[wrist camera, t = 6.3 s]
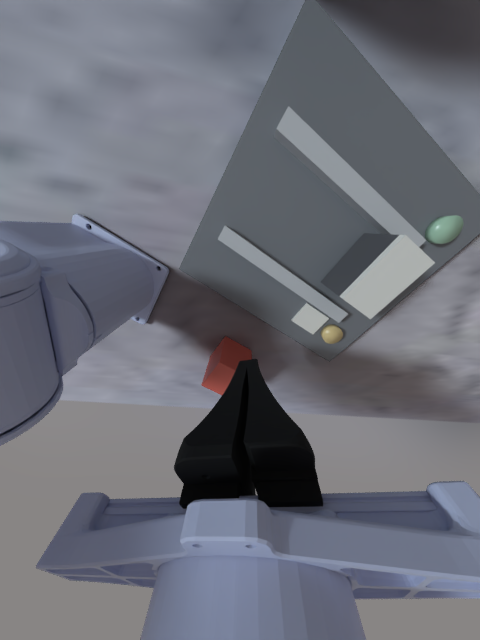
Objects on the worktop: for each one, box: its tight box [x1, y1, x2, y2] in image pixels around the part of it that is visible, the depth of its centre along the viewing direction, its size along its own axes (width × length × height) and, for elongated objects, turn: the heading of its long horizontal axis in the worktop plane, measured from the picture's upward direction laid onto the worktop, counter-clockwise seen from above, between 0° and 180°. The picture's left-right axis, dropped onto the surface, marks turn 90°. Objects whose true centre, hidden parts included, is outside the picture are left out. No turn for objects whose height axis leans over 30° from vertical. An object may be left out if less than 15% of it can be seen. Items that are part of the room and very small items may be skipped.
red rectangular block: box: [202, 336, 252, 395], centre depth 21 cm, size 4×4×5 cm
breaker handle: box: [321, 233, 435, 319], centre depth 14 cm, size 3×5×4 cm, turn 147°
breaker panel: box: [179, 0, 480, 362], centre depth 16 cm, size 20×18×3 cm
